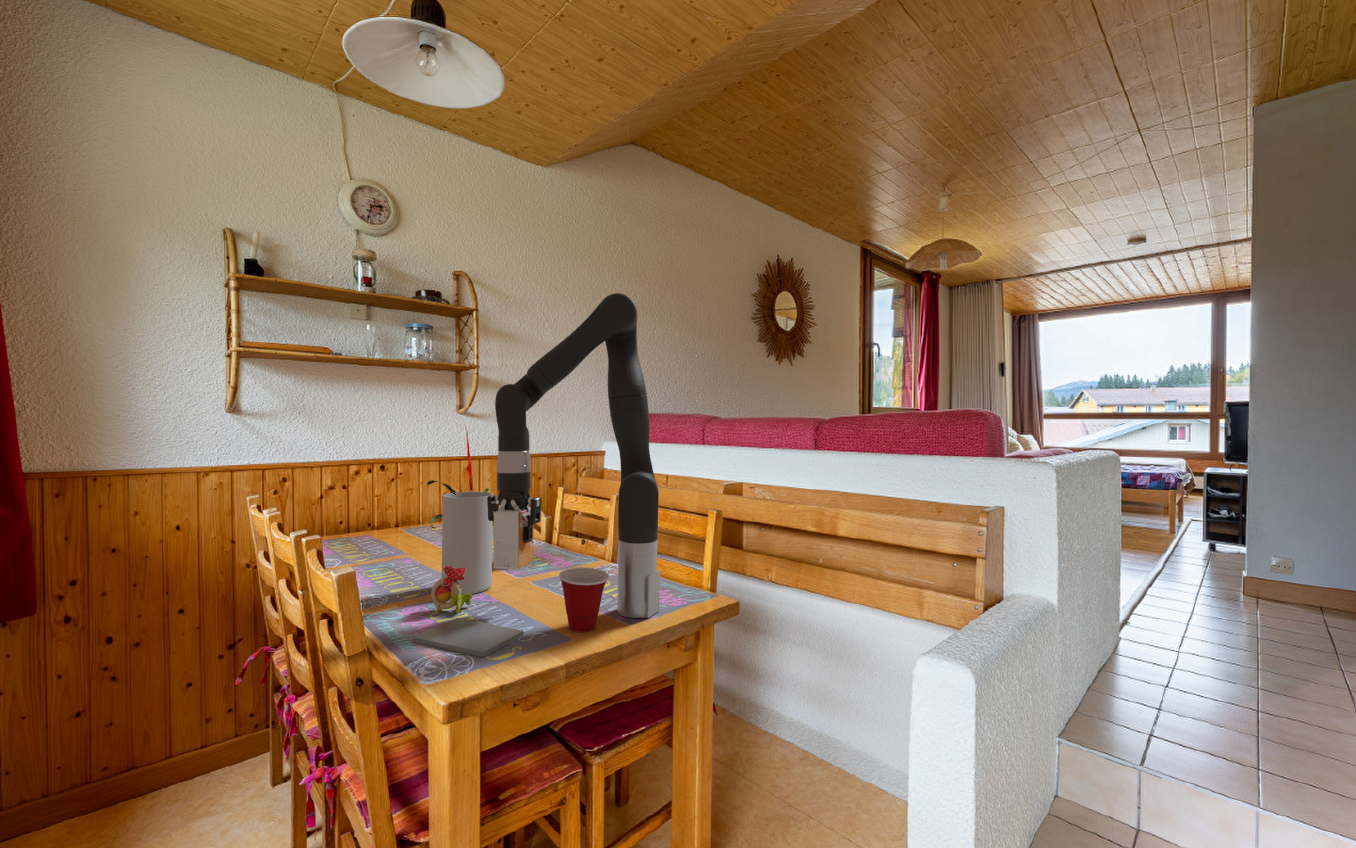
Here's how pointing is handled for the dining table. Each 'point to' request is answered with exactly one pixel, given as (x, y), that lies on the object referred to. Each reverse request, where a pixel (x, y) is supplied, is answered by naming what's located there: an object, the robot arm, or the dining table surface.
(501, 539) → the small box
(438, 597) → the bird rattle
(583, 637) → the dining table surface
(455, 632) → the slate tile
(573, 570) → the plastic cup
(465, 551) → the cylinder vase
